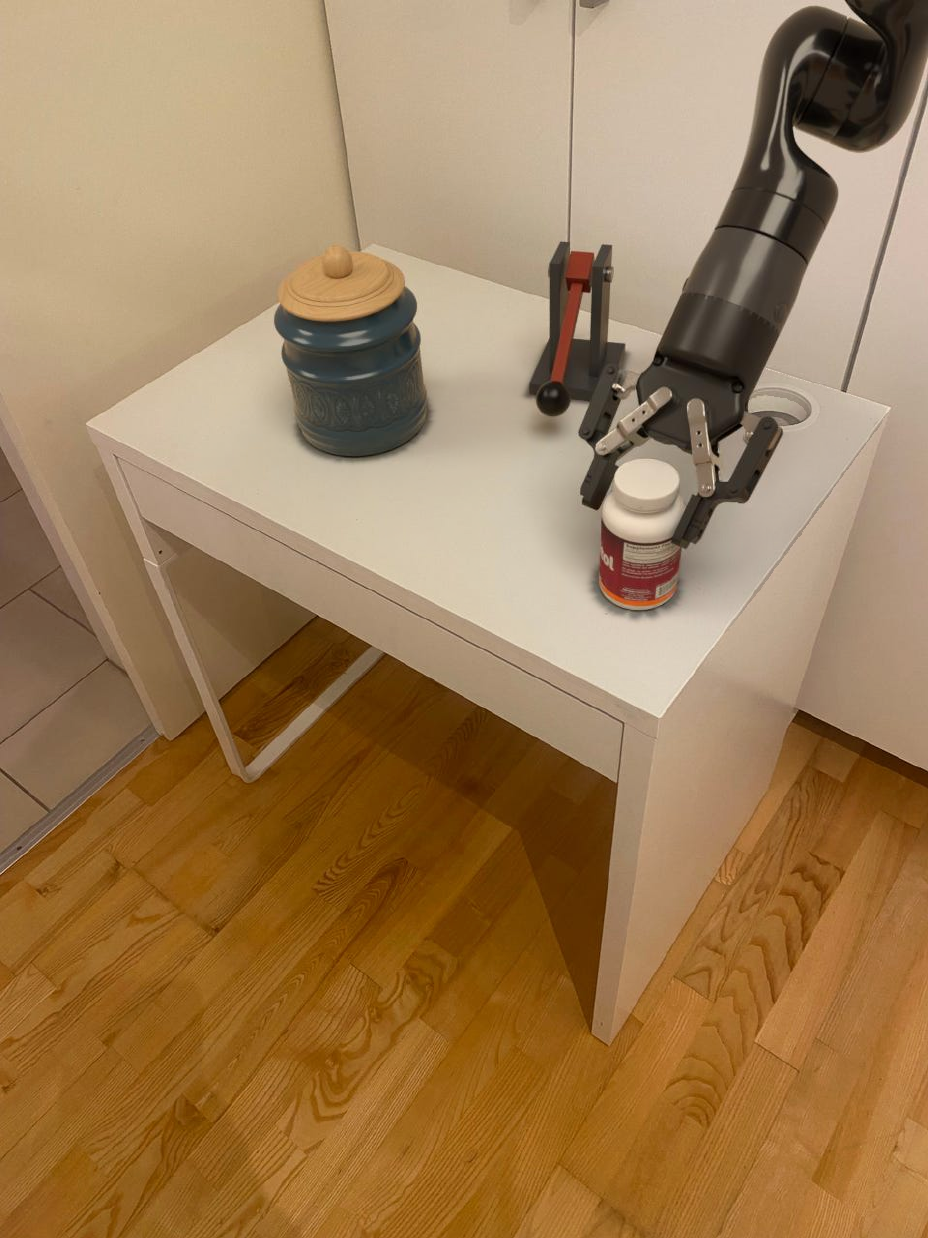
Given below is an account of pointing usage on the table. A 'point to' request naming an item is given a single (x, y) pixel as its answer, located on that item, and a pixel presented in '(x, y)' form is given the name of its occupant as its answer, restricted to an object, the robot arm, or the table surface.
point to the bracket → (596, 351)
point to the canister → (352, 353)
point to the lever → (566, 335)
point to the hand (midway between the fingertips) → (632, 525)
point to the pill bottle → (641, 535)
